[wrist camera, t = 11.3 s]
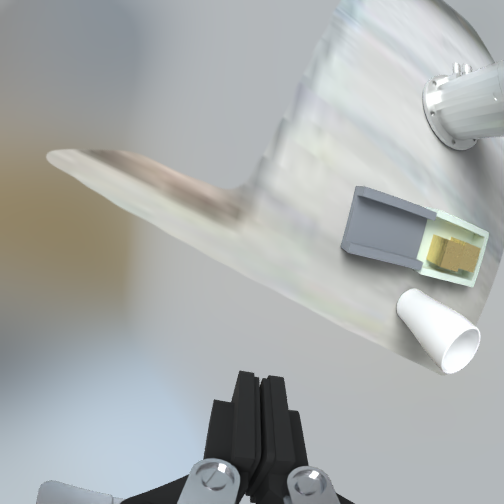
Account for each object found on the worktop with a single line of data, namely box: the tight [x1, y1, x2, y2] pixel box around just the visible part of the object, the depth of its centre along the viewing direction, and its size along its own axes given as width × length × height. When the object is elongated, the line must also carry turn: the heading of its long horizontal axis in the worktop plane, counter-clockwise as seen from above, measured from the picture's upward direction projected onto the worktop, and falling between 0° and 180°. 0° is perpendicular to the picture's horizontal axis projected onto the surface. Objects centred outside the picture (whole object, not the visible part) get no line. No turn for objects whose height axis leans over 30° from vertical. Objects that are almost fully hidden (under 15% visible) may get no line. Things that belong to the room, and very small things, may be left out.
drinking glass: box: [397, 289, 481, 374], centre depth 31 cm, size 7×7×15 cm
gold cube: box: [426, 234, 465, 272], centre depth 34 cm, size 4×4×4 cm
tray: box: [411, 207, 489, 287], centre depth 34 cm, size 9×13×3 cm
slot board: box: [341, 186, 437, 270], centre depth 34 cm, size 8×12×3 cm
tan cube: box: [450, 237, 481, 273], centre depth 34 cm, size 4×4×4 cm
